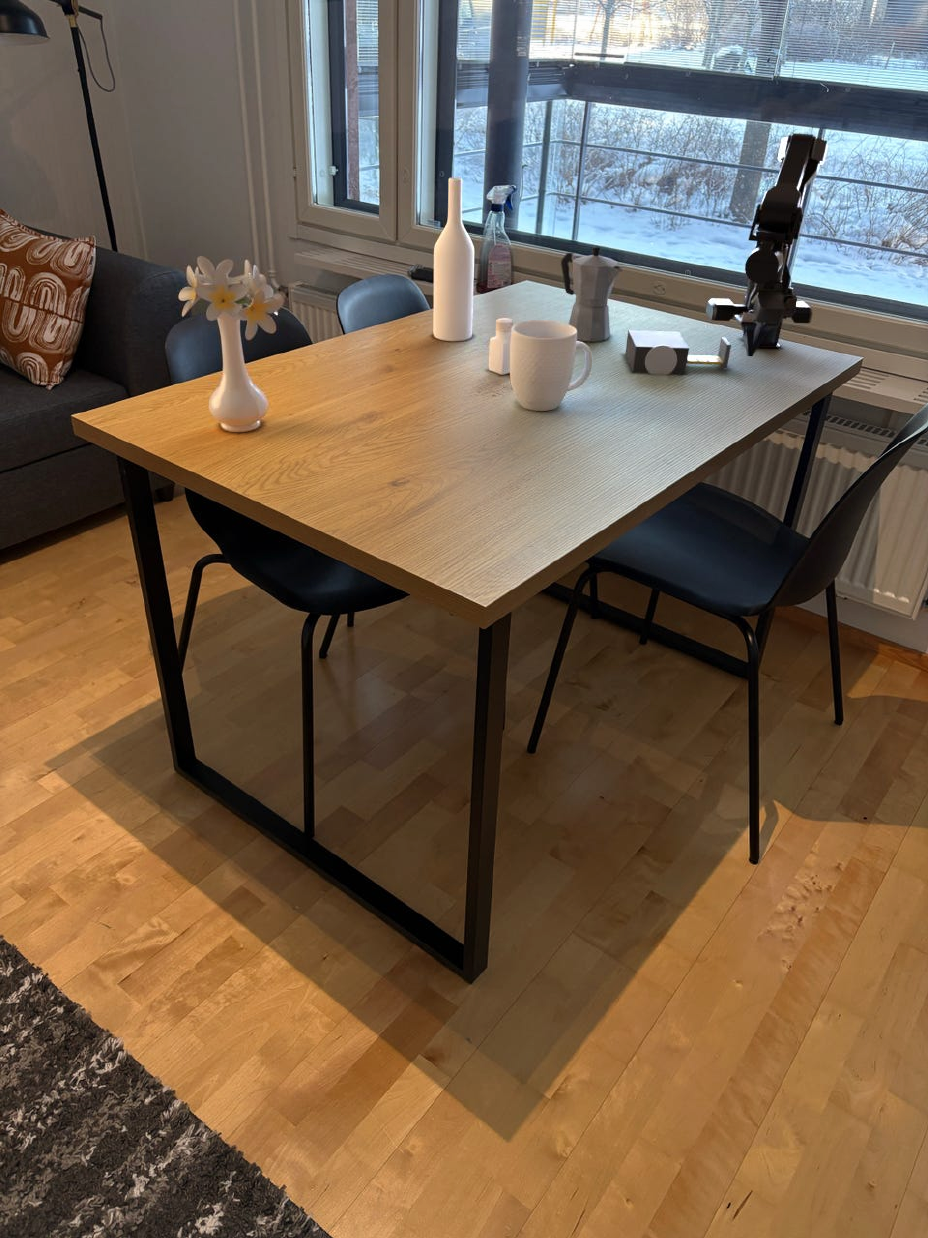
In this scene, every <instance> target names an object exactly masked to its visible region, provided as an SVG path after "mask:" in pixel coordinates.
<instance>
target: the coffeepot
mask: <svg viewBox="0 0 928 1238" xmlns="http://www.w3.org/2000/svg"><path fill="white" fill-rule="evenodd" d="M601 248H602V247H601V246H599V245H594V246H592V254H590V255H586V256H585V255H584V256H583V255H582V254H578V253H574V252H566V254H564V256H563V257H562V259H561V260H560V266H561V267H560V268H561V271H562V278H563V284H564V289H565V293H566V294H568V295H570V296H573V295H575V301H574V303H573V305H572V309H571V313H570V317H569V322H568V324H569V325H571V326H573V327H575V328H576V329H577V341H580V342H588V343H589V342H591V343H593V342H594V343H595V342H602V341H606V340H607V339H609V337H610V335H611V329H610V311H609V309H610V308H609V305H608V303H609V297H610V296H611V294H612V290H613V287H614V282H615V279H616V277H617V276H618V275H619V273H621V272H622V271H623V268H622V267H621V266H620V265H619V261H616V260H614V259H612V258H610V257H606V256H603V255H600V253H601V250H602V249H601ZM570 263H571V264H572V279H571V276H570V266H569V265H570ZM571 280H573V289H572V288H571V282H572V281H571Z"/></svg>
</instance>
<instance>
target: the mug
mask: <svg viewBox="0 0 928 1238" xmlns="http://www.w3.org/2000/svg"><path fill="white" fill-rule="evenodd" d="M577 349H582V350H583V352H584V354H585V364H584V368H583V371H582V373H581V375H580V376H579V377H578V378H577V379H576V380H574V381H573V382H572V381H571V380H572V377H573V371H574V368H575V361H576V354H577ZM592 367H593V355H592V351H591V349H590V347H589V346H588V345H587V344H586V343H584V341H580V340H577V329H576V328H575V327H573V326H571V325H569V323H566V322H562V321H556V320H555V321H554V320H546V319H545V320H542V319H541V320H540V319H539V320H537V319H536V320H535V319H534V320H526V321H520V322H517V323H514V324H513V327H512V329H511V342H510V373H509V376H510V378H509V379H510V383H511V387H512V391H513V394H514V396H515V398H516V400H517V403H519V405H520V406H521V407H522V408H524V409H526V410H529V411H533V412H547V411H552V410H555V409H557V408H558V407H559V406H560V404H561V403H562V401H563V400H564V398H565V397H566V394H567V392H570V391H573V390H575V389H578V388H579V387H581V386H582V385H584V383H585V382H586V381H587V379H588V378H589V376H590V374H591V371H592Z"/></svg>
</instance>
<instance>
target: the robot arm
mask: <svg viewBox="0 0 928 1238" xmlns="http://www.w3.org/2000/svg"><path fill="white" fill-rule="evenodd" d="M828 146H829V144H828V140H825V139H823V137H822V136H816V135H814V134H811V133H795V132H793V133H792V134H788V136H785V137H784V136H783V137H782V138H781V141H780V146H779V151H778V156H777V160H778V161H779V162H780V169H779V173H778V174H777V175H778V176H777V178H776V182H775V184H774V186H773V187H771V188H768V190H766V191H765V193H764V195H763V198H762V201H761V203H758V204H757V207H756V209H755V212H754V213H755V214H754V216H753V222H752V225H751V228H750V232H749V235H748V241H750V242H756V244H755V247H754V250H753V251H752V252H751V254H750V255H749V256H748V257H747V259H746V261H745V265H744V272H745V275H746V277H747V280H748V282H747V289H746V293H745V296H744V297H743V302H742V303H744V304H734V303H733V301H731V299H729V298H710V299H709V300H708V302H707V304H706V309H705V314H706V315H707V316H708V317H709V319H710V320H711V321H715V322H730V321H731V320H732V319H733V318H734V320H736V322H737V323H738V325H740V327H741V329H742V330H741V331H742V337H741V339H742V340H743V342H744V344H745V352H746V355H747V357H754V355H755V353H756V351H757V349H758V348H760V349H761V348H763V349H780V348H781V345H780V344H779V339H780V335H781V332H782V331H781V330H782V326H783V321H784V320H787V318H788V319H789V318H790V319H791V320H792V322H793V323H794V324H811V322H812V319H813V309H812V308H811V306H810V305H808V303H806V302H805V301H804V300H798V297H797V295H796V294H794V287H791V286H792V281H793V280H792V277H791V274H790V270H789V267H788V265H789V260H790V256H791V252H792V248H793V244H794V242H795V240H798V239H799V236H800V233H801V229H802V226H803V222H804V218H805V213H803V211H804V210H803V207H802V206H803V202H804V198H805V193H806V189H807V188H808V186H809V185H810V184H811V183H812V182H813V181H814V180H815V179H816V177H817V176H818V173H819V170H820V166H821V165H824V164H825V160H826V157H827V156H826V155H827V151H828Z"/></svg>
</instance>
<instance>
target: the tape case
mask: <svg viewBox="0 0 928 1238" xmlns="http://www.w3.org/2000/svg"><path fill="white" fill-rule="evenodd" d="M689 352H690V347H689V345H688V344H687V343H686V341H685V340H684V338H683V336H682V335H681V333H680V332H679V331H673V330H672V331H671V330H670V331H669V330H641V329H640V330H637V329H631V330H630V329H628V330H627V337H626V346H625V353H624V355H625V358H626V360H627V363H628V365H629V368H630V369H631V372H632V374H650V375H663V376H664V375H665V376H667V375H686V370H687V365H688V364H687V359H688V355H689Z"/></svg>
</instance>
